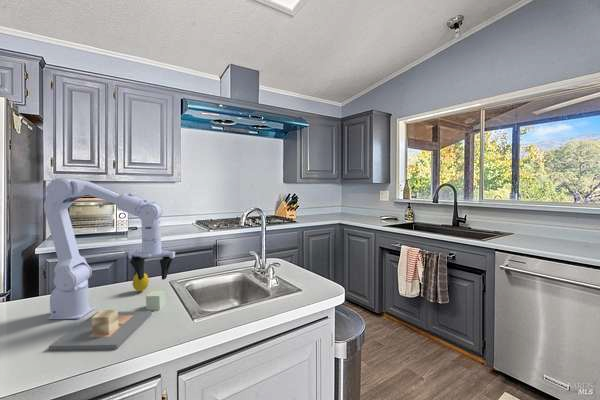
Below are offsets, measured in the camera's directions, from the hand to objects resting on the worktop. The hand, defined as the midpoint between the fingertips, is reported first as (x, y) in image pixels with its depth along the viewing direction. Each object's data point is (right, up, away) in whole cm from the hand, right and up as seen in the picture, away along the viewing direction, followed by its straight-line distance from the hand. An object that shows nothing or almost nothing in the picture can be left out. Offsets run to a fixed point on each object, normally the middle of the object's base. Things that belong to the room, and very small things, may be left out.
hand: (152, 278), depth 97 cm
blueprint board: (-7, -11, -13) cm, 19 cm away
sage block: (0, -11, +2) cm, 11 cm away
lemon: (-12, -10, +15) cm, 22 cm away
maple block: (-5, -10, -16) cm, 20 cm away
